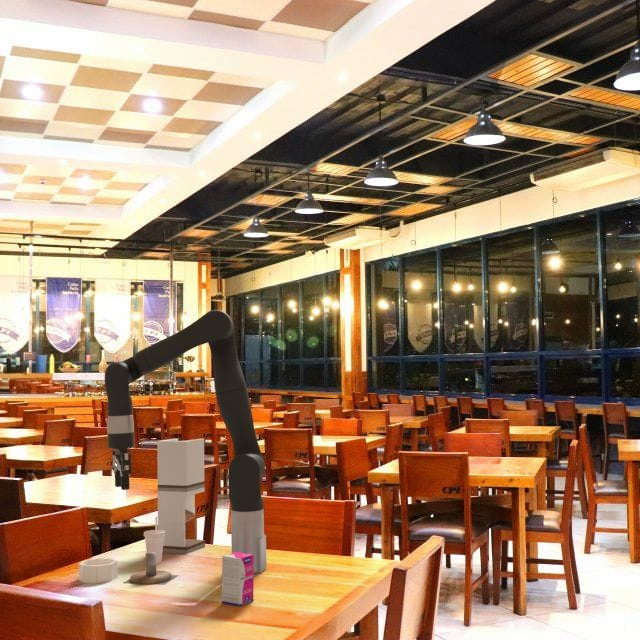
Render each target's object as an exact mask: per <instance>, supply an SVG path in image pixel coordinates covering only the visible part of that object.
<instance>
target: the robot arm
mask: <svg viewBox="0 0 640 640" xmlns="http://www.w3.org/2000/svg"><path fill="white" fill-rule="evenodd" d="M235 336H236V335H235V327H234V322H233V319H232V317H231V316H230V315H229V314H228V313H227V312H225V311H223V310H220V309H212V310H208V311H207V312H206V313H205V314H204V315H202V316H201V317H199V318H198V319H196V320H195V321H194V322H192V323H191V324H190V325H187V326H186V327H184V328H183V329H181V330H180V331H178V332H175V333H174V334H172V335H170V336H167V337H166V338H164V339H161V340H159V341H157V342H155V343H153V344H151V345H149V346H147V347H145V348H143V349H141V350H139V351H138V352H136V353H135V354H134V355H133V356H131V357H129V358H128V357H127V358H126V359H124V360H122V361H115V362H112V363H110V364H108V366H107V367H106V369H105V370H104V387H105V392H106V397H107V423H106V427H107V428H106V432H107V448H108V449H110V450H112V452H111V454H112V456H111V457H112V471H113V474H114V486H115V487H116V488H121V490H123V491H126V490H130V476H131V475H132V472H133V471H132V457H131V456H132V454H131V452H128V451H129V450H128V449H132V448H134V447H135V421H134V413H133V410H134V409H133V399H132V396H131V395H130V384H132V383H134V382H135V381H137V380H139V379H140V378H143V377H144V376H145V375H147V374H150V373H152V372H154V371H156V370H159V369H160V368H163V367H164V366H166V365H168V364H169V363H171V362H173V361H175V360H176V359H177V358H180V357H181V356H182V355H184V354H186V353H188V351H190V350H193V349H194V348H197V347H199V346H201V345H205V344H208V346H209V349H210V353H211V354H210V355H211V358H212V363H213V383H214V384H213V385H214V393H215V397H216V402H217V407H218V410H219V414H220V417H221V418H222V420H223V423H224V425H225V427H226V429H227V431H228V433H229V436H230V439H231V443H232V447H233V454H234V457H233V458H232V459H231V460H230V462H229V465H228V468H227V469H228V473H227V476H228V477H227V479H228V480H227V483H228V498H229V499H228V500H229V502H230V521H231V522H230V526H231V529H230V530H231V533H230V534H231V539H230V541H231V553H235V552H239V553H245V554H252V555H254V574H261V573H263V572H264V571H265V570H267V536H266V534H265V529H264V528H265V525H264V523H265V521H264V519H265V518H264V498H263V497H262V494H261V493H262V492H261V479H262V478H263V477H264V474H265V471H266V464H265V459H264V456H263V453H262V451H261V448H260V445H259V441H258V439H257V435H256V431H255V425H254V416H253V413H252V407H251V403H250V397H249V392H248V387H247V383H246V380H245V376H244V373H243V372H244V371H243V369H242V366H241V364H240V360H239V358H238V357H239V356H238V354H237V353H238V352H237V351H238V350H237V345H236V337H235Z"/></svg>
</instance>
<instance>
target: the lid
mask: <svg viewBox="0 0 640 640" xmlns="http://www.w3.org/2000/svg"><path fill="white" fill-rule="evenodd" d="M172 575H173V574H172V572H171V571H170V572H169V571H165V570H157V564H156V552H147V551H146V553H145V571H140V572H135V573H134V574H131V575H130V578H129V579H130V581H131V582H132V583H136V584H135V585H157V584H156V583H162V582H166V581H169V580H170V579H171V578H172Z"/></svg>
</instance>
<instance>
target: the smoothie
mask: <svg viewBox="0 0 640 640" xmlns="http://www.w3.org/2000/svg"><path fill="white" fill-rule="evenodd" d="M154 520H155V524H154V525H155V529H150V530H145V531H143V537H144V541H145V542H144V543H145V549H146V550H145V551H146V553H147V552H156V565H159V564H162V559H163V553H164V552H163V543H164V535H165V531H164V530H158V516H155V518H154Z"/></svg>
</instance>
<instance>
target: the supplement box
mask: <svg viewBox="0 0 640 640" xmlns="http://www.w3.org/2000/svg"><path fill="white" fill-rule="evenodd" d="M221 557H222V560H221V562H222V563H221V604H223V605H228V606H229V605H230V606H234V607H241V606H243V605H246V604H248V603H252V602H254V591H255V589H254V588H255V587H254V583H255V582H254V580H255V578H254V575H255V573H254V555H252V554H245V553H239V552H235V553H232V552H231V553H228V554H224V555H222V556H221Z"/></svg>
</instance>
